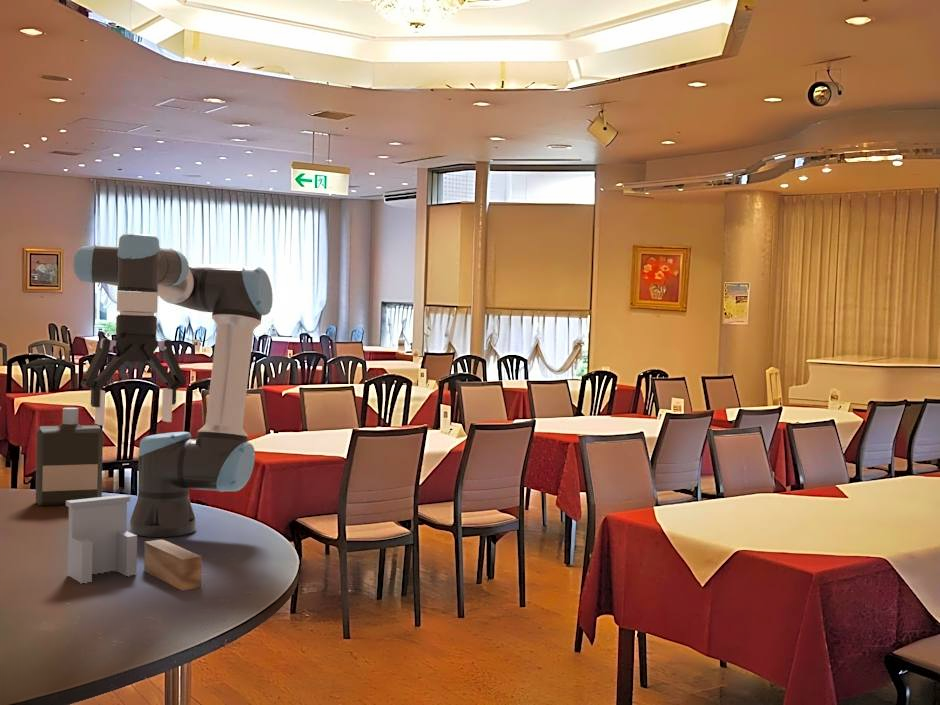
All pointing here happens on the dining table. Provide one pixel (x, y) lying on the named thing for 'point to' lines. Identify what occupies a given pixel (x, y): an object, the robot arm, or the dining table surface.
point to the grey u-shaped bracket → (100, 538)
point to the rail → (173, 564)
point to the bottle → (68, 461)
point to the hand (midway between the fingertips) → (133, 423)
